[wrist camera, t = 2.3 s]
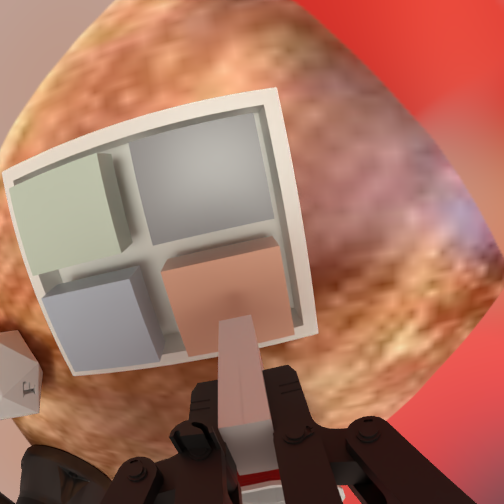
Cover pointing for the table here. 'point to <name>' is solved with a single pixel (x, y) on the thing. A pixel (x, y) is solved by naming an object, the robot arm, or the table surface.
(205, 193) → the key charcoal
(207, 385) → the robot arm
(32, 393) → the die
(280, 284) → the key terracotta
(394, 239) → the table surface
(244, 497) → the plastic cup
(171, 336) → the keypad
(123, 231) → the key sage
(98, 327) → the key slate
